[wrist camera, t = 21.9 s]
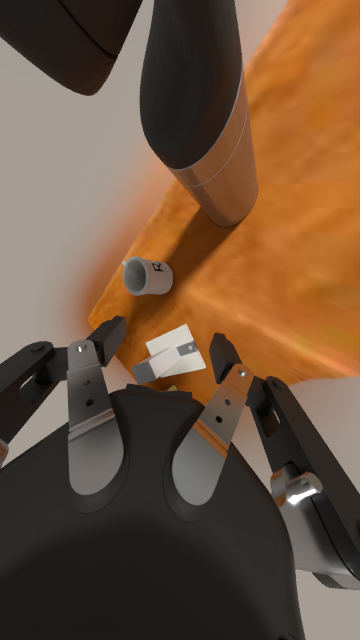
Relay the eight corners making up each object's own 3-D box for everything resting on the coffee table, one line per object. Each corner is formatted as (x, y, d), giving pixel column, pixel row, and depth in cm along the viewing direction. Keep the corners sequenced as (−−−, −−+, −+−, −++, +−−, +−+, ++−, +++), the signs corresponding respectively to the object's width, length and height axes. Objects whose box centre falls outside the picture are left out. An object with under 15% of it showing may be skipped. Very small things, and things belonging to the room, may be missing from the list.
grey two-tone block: (161, 349, 45) (131, 367, 35) (175, 344, 41) (145, 362, 32) (167, 362, 45) (138, 384, 35) (181, 358, 41) (153, 381, 31)
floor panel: (147, 342, 49) (145, 343, 48) (186, 323, 39) (184, 324, 38) (162, 376, 49) (160, 377, 48) (205, 366, 38) (204, 368, 37)
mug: (180, 272, 37) (154, 268, 29) (165, 300, 41) (140, 303, 33) (150, 250, 41) (120, 241, 33) (140, 278, 45) (111, 276, 37)
